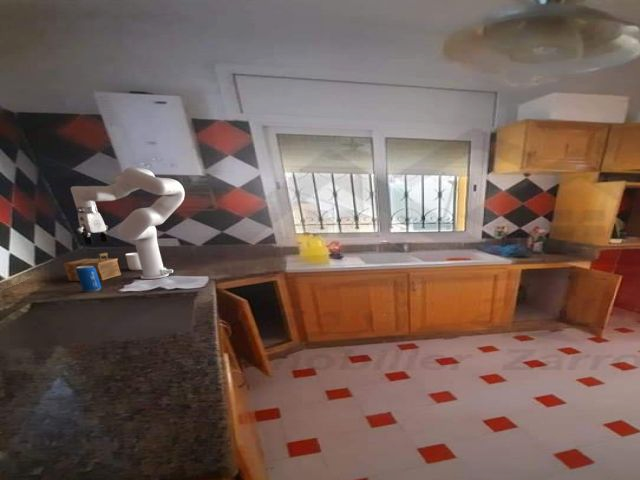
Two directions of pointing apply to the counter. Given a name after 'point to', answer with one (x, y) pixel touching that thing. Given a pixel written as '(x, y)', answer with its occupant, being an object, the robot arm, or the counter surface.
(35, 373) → the counter surface
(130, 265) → the cup
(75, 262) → the lid
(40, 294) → the counter surface
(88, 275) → the beverage can
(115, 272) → the chest
